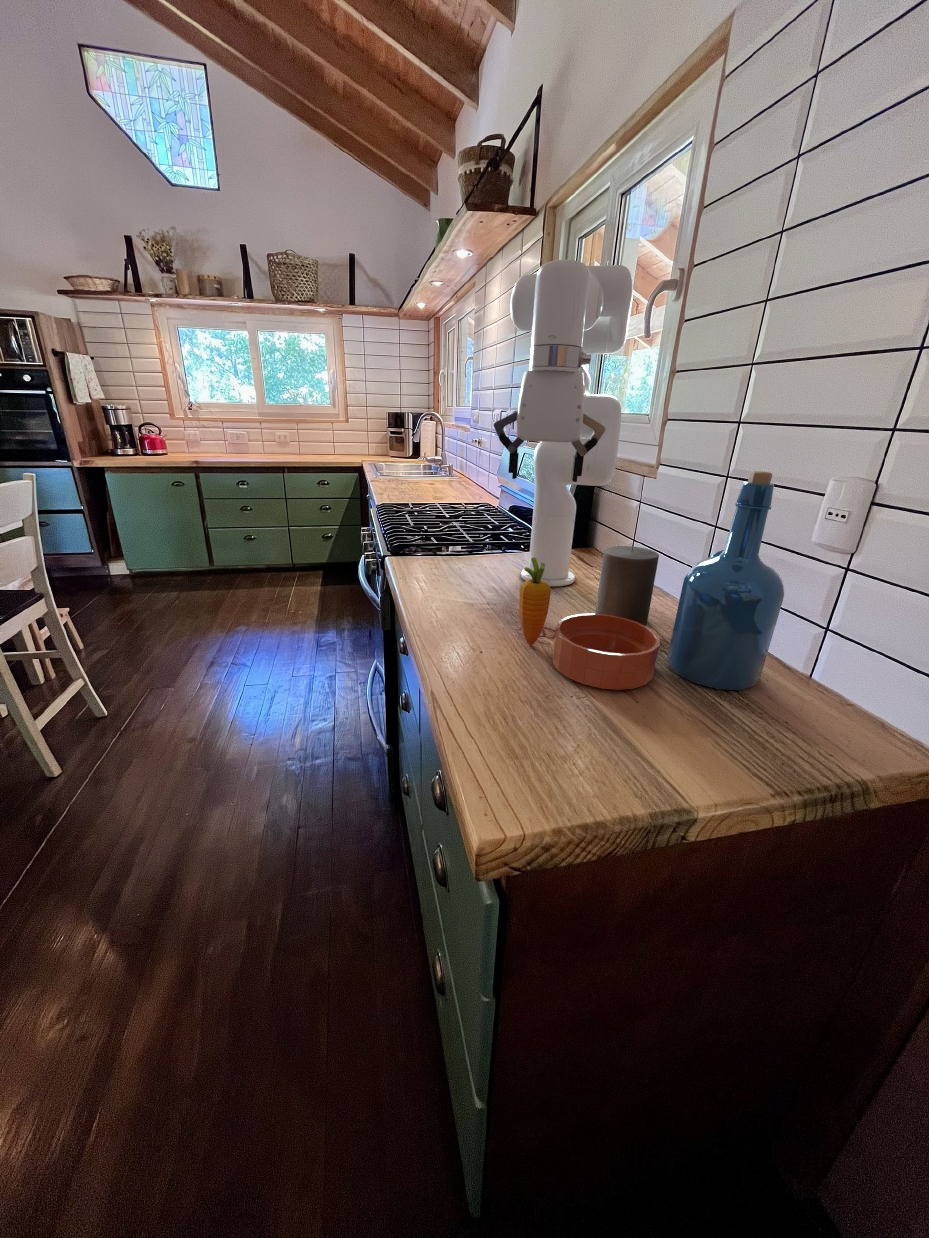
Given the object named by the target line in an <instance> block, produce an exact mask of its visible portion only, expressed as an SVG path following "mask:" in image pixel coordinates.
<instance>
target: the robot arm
mask: <svg viewBox="0 0 929 1238" xmlns="http://www.w3.org/2000/svg"><path fill="white" fill-rule="evenodd" d="M633 296H634V282H633V275H632V273H631V271H630V269H629V268H628V267H627V266H625V265H622V264H611V265H610V264H605V265H586V264H585V263H583V262H581V261H579V260H574V259H555V260H550V261H547V262H545V263H543V264H541V266H539V269H538V270H537V272H536V273H533V274H531V273H530V274H525V275H522V276H520V277H519V278H518V279H517V281H516V282H515V283H514V286H513V288H512V291H511V295H510V303H509V309H510V310H509V311H510V318H511V321H512V323H513V325H514V327H515V328H516V329H517V330H518V331H521V332H526V333H527V332H528V333H529V332H531V341H530V352H529V353H530V355H529V368H528V370H525V371H524V373H523V374H522V380H521V384H520V385H521V386H520V390H519V398H518V405H517V410H516V411H515V412H513V413H511V414H509V415H507V416H505V417H503V418H501V419H499V420H497V421H495V422H494V423H493V428H494V431H495V433H496V435H497V437H498V439H499V442H500V443H501V444H502V446H504V448H505V449H506V450H507V451H508V452H509V458H508V461H509V462H508V474H511V475H512V476H511V477H512V478H511V479H512V480H516V479H517V478H518V469H519V458H520V457H519V456H520V453H519V451H518V450H519V447H520V446H522V444H523V443H524V442H538V443H537V445H536V446H535V448H534V452H533V473H534V476H533V477H534V495H533V508H532V510H533V511H532V522H531V531H530V543H529V556H528V566H527V567H528V568H530V569H532V571H533V570H534V567H533V564H532V560H531V558H533V557H535V558H536V560H537V563H538V567H539V568H540V567H541V562H543V563H544V564H545V568H544V573H543V575H542V578H541V580H542V581H545V582H546V583H547V584H548V585H549V586H550V587H563V586H569V585H571V584H573V583H575V579H576V576H575V574H574V573H573V572H572V571H570V564H571V556H572V547H573V539H574V530H575V522H576V514H577V503H576V502H577V501H576V499H575V497H574V496H573V494H572V493H571V491H570V489H569V488H568V487H567V486H570V485H571V486H572V485H577V486H593V487H594V486H595V487H600V486H603V487H604V486H606V485H608V484H610V483H611V481H612V480H613V478H614V476H615V472H616V467H617V461H618V451H619V450H618V449H619V445H620V443H619V442H620V434H621V425H622V406H621V402H620V400H619V399H618V398H617V397H616V396H614V395H610V394H595V393H590V391H591V384H592V378H591V375H590V374H589V371H588V370H587V368H586V366H585V365H591V360H592V355H611V354H616V353H618V352H620V351H621V350H622V349H623V347H624V346H625V344H626V341H627V337H628V331H629V325H630V317H631V311H632V305H633ZM515 422H516V436H517V437H515V439H514V440H513V441H512V440H511V438H510V437H508V435H507V433H506V431H505V428H506V427H507V426H509V425H511V424H513V423H515ZM520 576H521V578H522V579H523V580H524V582H525V581H527V580H531V579H532V577H531V575H530V574H529V573H528V572H527V571H525V570H524V569H522V570H521V573H520Z"/></svg>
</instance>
